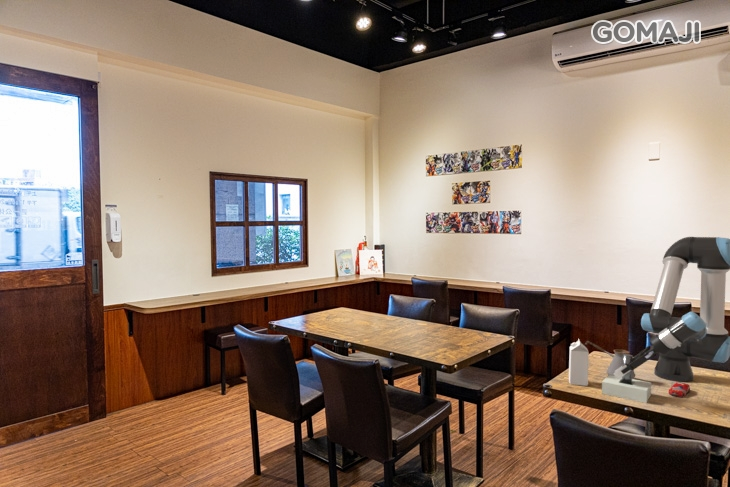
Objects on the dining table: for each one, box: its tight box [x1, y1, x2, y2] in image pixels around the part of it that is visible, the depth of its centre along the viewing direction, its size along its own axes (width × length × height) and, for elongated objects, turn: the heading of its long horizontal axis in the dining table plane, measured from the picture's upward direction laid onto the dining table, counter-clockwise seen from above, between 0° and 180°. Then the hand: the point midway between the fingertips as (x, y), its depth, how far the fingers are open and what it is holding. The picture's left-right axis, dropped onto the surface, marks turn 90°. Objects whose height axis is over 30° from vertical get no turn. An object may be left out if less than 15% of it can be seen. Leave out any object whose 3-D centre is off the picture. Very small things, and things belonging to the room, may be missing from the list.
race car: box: [668, 381, 691, 398], centre depth 198 cm, size 13×5×4 cm, turn 129°
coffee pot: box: [584, 340, 636, 379], centre depth 217 cm, size 21×12×15 cm, turn 45°
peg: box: [622, 353, 634, 385], centre depth 195 cm, size 4×4×13 cm
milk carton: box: [568, 338, 590, 387], centre depth 209 cm, size 7×7×19 cm
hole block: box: [601, 374, 652, 404], centre depth 196 cm, size 16×12×5 cm
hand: (616, 375), depth 198 cm, fingers closed on peg, 3 cm apart
